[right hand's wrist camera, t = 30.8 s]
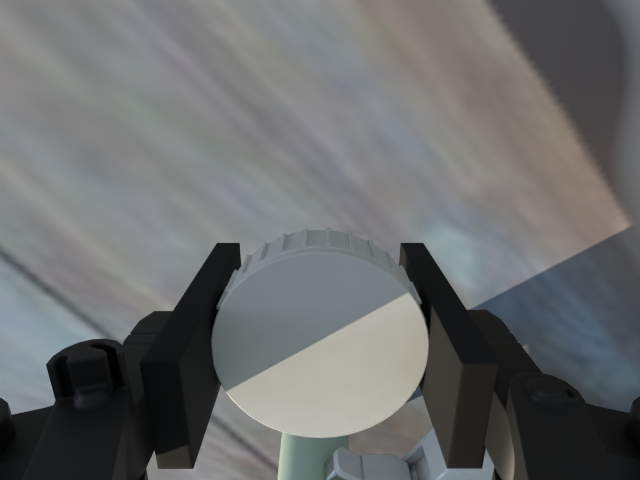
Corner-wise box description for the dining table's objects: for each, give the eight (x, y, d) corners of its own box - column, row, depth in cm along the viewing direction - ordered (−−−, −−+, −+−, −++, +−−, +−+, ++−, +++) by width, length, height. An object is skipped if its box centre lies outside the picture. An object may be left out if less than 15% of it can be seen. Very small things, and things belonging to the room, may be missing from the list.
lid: (243, 408, 13) (233, 450, 12) (201, 240, 11) (183, 265, 10) (423, 388, 13) (437, 429, 11) (412, 214, 11) (427, 234, 9)
